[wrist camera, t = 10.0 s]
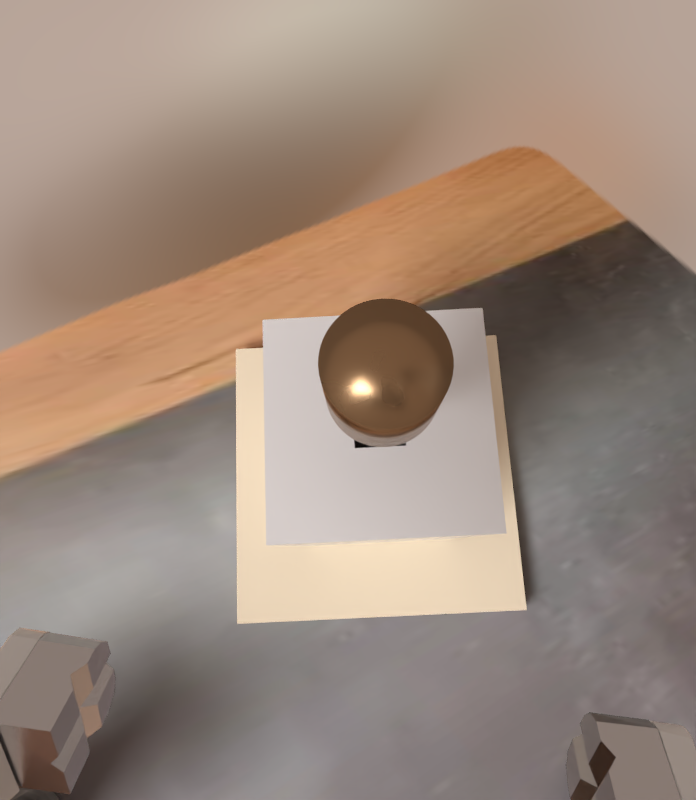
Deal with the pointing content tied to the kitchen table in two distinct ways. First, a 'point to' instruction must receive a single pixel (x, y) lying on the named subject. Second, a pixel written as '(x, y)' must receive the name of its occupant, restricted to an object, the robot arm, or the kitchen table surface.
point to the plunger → (384, 371)
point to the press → (371, 491)
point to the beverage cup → (34, 795)
